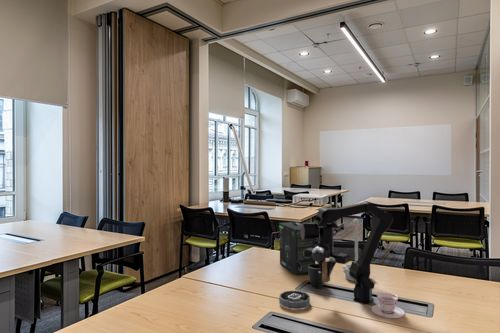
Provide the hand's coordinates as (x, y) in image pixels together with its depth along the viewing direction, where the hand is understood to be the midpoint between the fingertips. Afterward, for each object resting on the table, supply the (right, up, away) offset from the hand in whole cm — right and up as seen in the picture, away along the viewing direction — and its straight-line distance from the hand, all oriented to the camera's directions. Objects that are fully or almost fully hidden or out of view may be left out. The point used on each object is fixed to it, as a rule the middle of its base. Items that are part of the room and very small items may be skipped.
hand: (326, 276), depth 141 cm
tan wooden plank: (0, -2, 0) cm, 2 cm away
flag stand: (+22, -11, +30) cm, 39 cm away
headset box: (-6, -11, +46) cm, 48 cm away
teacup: (+22, -11, -9) cm, 26 cm away
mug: (0, -11, +17) cm, 20 cm away
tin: (-13, -11, -1) cm, 17 cm away
